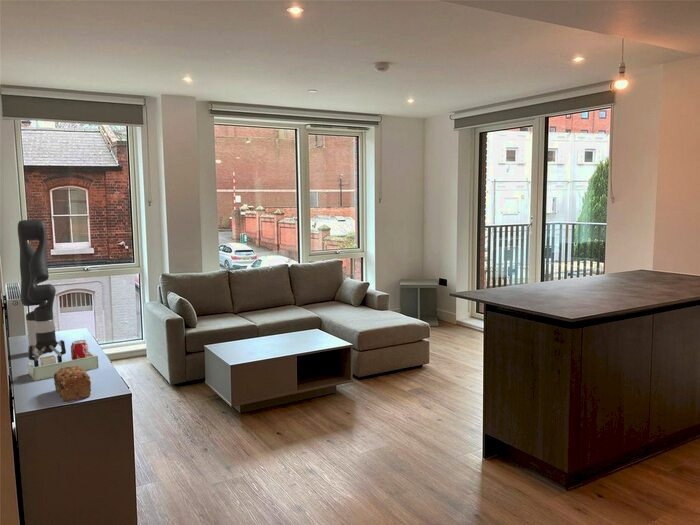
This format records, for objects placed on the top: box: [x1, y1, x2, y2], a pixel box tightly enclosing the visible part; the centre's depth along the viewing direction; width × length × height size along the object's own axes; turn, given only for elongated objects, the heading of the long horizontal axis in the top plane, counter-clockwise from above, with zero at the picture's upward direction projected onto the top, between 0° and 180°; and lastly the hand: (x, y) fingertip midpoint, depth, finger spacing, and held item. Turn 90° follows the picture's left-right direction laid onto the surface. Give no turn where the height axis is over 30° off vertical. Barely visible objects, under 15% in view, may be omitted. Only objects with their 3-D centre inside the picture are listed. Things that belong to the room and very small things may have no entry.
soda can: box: [70, 339, 89, 360], centre depth 250 cm, size 7×7×12 cm
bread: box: [53, 366, 92, 402], centre depth 217 cm, size 19×11×10 cm, turn 36°
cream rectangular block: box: [39, 354, 57, 366], centre depth 242 cm, size 6×5×8 cm
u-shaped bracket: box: [27, 350, 100, 382], centre depth 246 cm, size 13×26×6 cm, turn 129°
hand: (48, 366), depth 242 cm, fingers open, 8 cm apart
